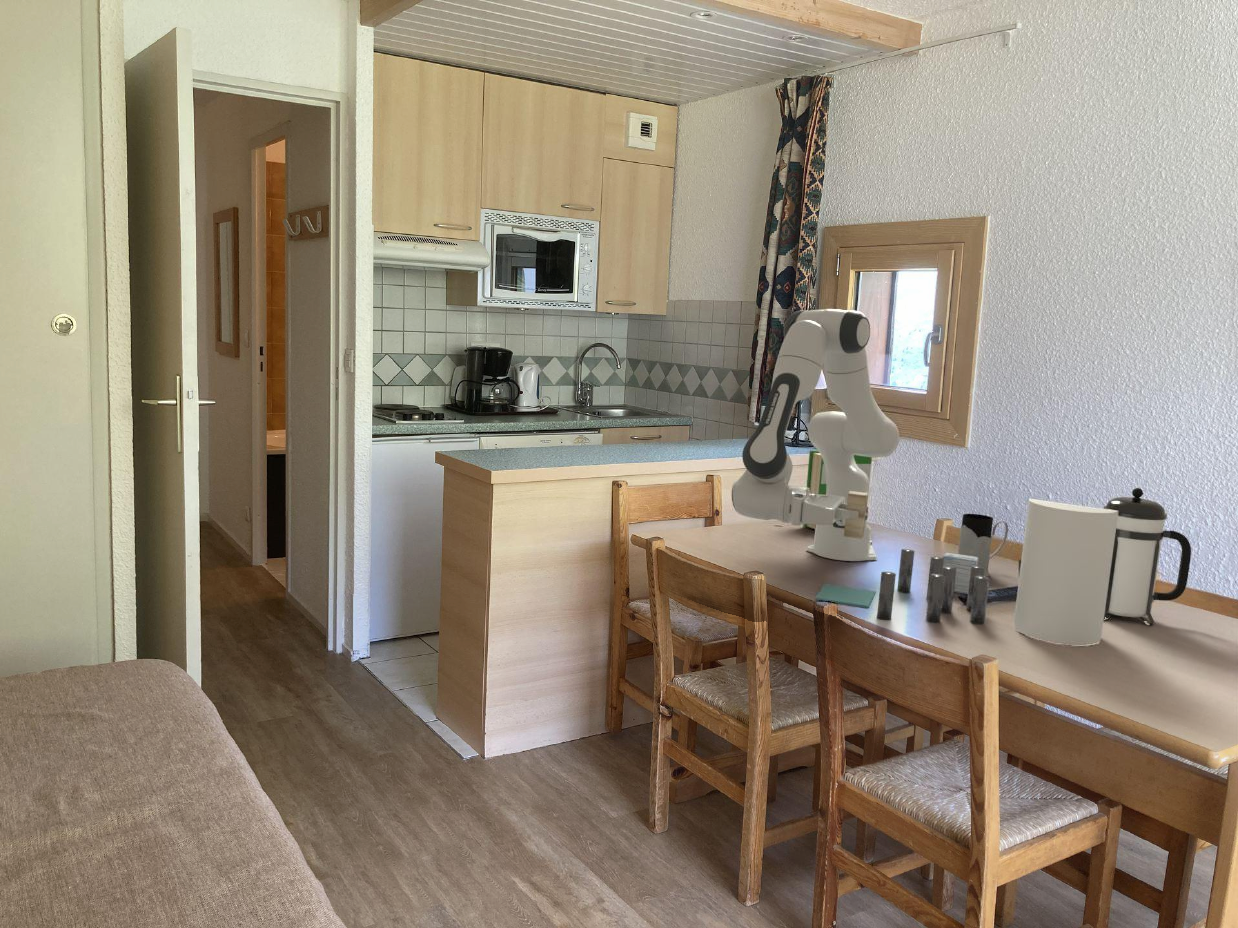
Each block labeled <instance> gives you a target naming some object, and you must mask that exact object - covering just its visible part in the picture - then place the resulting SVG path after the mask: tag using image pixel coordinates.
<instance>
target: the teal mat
mask: <svg viewBox="0 0 1238 928" xmlns="http://www.w3.org/2000/svg"><path fill="white" fill-rule="evenodd" d="M875 595H876V590H870V589H863V588H857V587H850V586H843V585H838V584H837V585H836V584H829V583H824V584H823V586H822V587H821V589H820V590H819V591H818V593H817V594H816V595H815V596H814V600H815V601H819V600H826V601H832V602H835V603H834V604H839V605H845V606H853V607H860V608H864V609H865V608H866V609H869V608H870V605H871V604H872V601H873V600H874V597H875ZM832 602H831V603H832Z"/></svg>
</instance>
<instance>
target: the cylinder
mask: <svg viewBox="0 0 1238 928" xmlns="http://www.w3.org/2000/svg"><path fill="white" fill-rule="evenodd" d="M1025 518H1026V521H1025V525H1024V527H1025V528H1024V534H1023V535H1024V536H1023V544H1022V551H1021V558H1020V559H1021V567H1020V575H1019V574H1018V584H1017V585H1018V586H1017V593H1016V601H1015V610H1014V616H1013V617H1014V618H1013V626H1014V627H1015V629H1016V630H1019V631H1020V632H1022V633H1024V634H1027V635H1028V636H1032V637H1035V638H1038V639H1042V640H1045V641H1050V642H1054V643H1061V644H1068V645H1087V644H1093V643H1097V642H1099V641H1100V640H1101V641H1102V634H1103V626H1104V621H1105V620H1104V614H1105V606H1106V599H1107V592H1108V584H1109V577H1110V569H1111V562H1112V555H1113V547H1114V540H1115V533H1116V525H1117V518H1118V511H1116V510H1109V509H1104V508H1102V507H1101V508H1100V507H1093V506H1086V505H1079V504H1071V503H1065V502H1064V503H1063V502H1058V501H1057V502H1056V501H1050V500H1042V499H1035V498H1028V503H1027V512H1026V517H1025ZM1013 626H1012V627H1013ZM1015 629H1014V630H1015ZM1016 630H1015V631H1016Z"/></svg>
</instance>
